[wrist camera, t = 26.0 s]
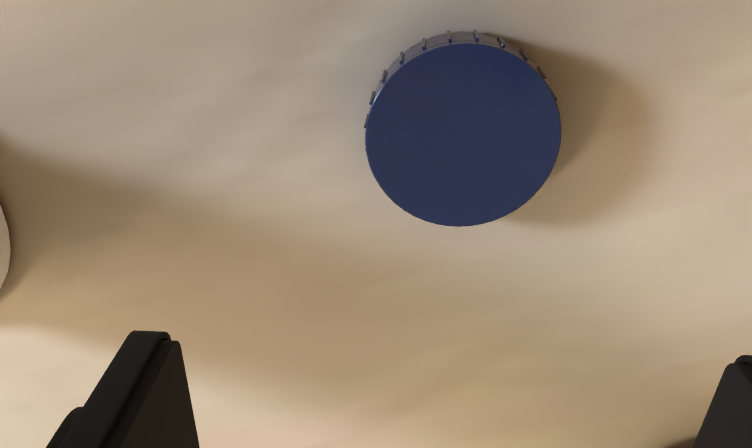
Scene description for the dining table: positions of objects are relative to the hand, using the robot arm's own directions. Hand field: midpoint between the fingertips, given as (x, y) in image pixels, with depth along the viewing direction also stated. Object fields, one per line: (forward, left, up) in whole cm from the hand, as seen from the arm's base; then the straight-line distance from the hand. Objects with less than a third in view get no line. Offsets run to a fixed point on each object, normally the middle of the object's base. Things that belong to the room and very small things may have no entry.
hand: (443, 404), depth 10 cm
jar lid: (+1, +1, -12) cm, 12 cm away
